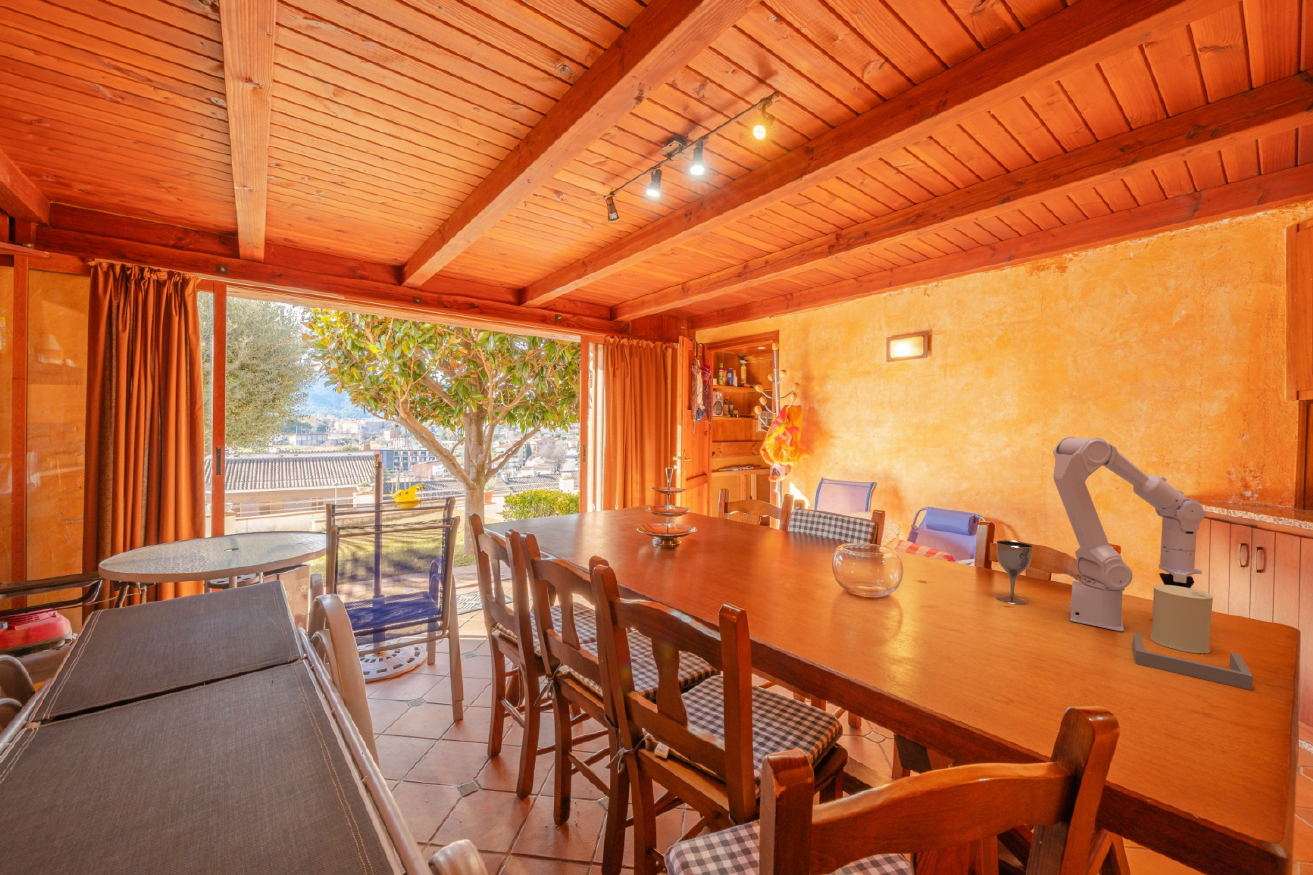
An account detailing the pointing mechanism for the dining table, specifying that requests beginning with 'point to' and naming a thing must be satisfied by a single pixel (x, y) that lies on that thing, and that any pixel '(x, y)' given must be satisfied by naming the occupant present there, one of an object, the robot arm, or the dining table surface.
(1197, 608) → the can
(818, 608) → the dining table surface
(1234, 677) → the holder
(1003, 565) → the wine glass
